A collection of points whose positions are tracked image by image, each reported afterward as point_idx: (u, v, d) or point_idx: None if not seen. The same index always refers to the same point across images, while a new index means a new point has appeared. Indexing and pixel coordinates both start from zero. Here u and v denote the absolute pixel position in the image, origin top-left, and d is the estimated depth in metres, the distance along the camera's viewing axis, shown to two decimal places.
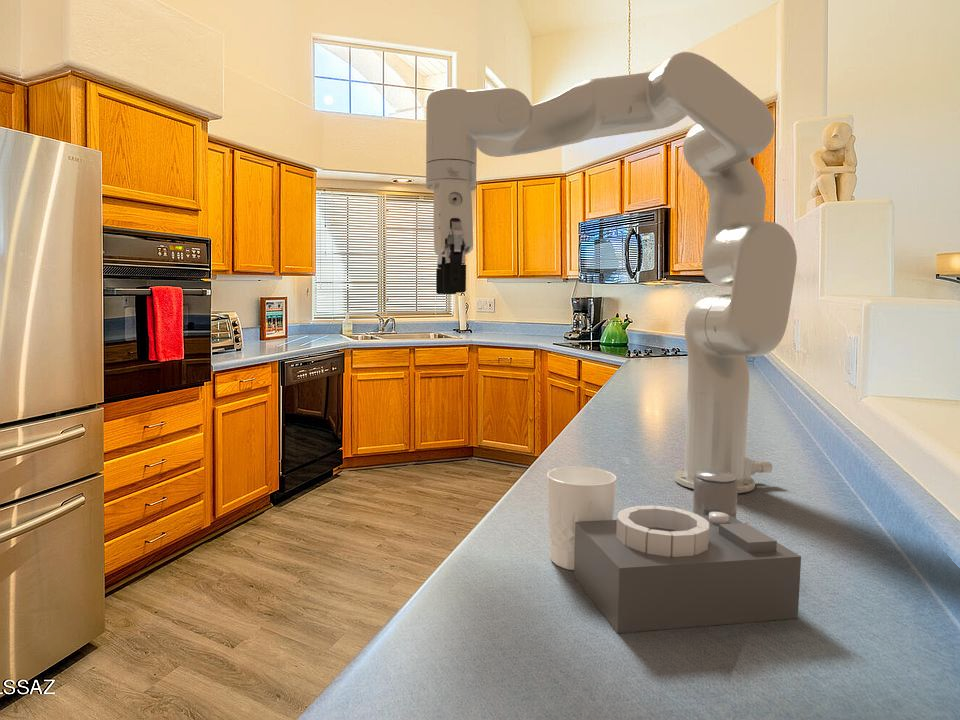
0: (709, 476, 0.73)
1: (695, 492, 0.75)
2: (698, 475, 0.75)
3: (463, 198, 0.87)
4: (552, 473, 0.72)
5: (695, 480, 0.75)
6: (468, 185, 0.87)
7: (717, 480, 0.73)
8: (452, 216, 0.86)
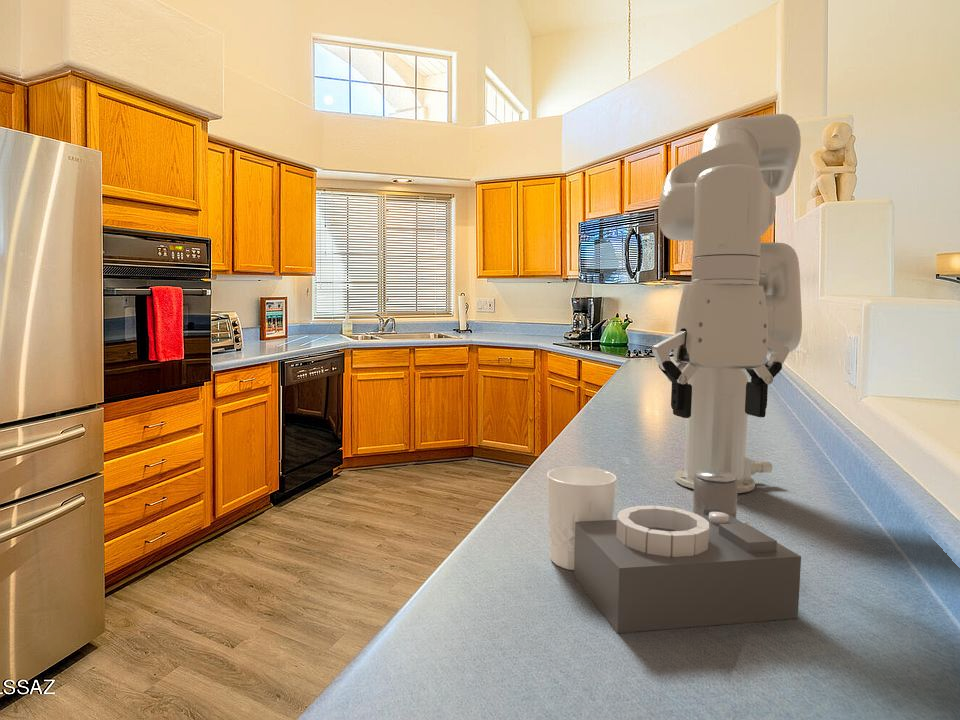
0: (709, 476, 0.73)
1: (695, 492, 0.75)
2: (698, 475, 0.75)
3: None
4: (552, 473, 0.72)
5: (695, 480, 0.75)
6: None
7: (717, 480, 0.73)
8: None
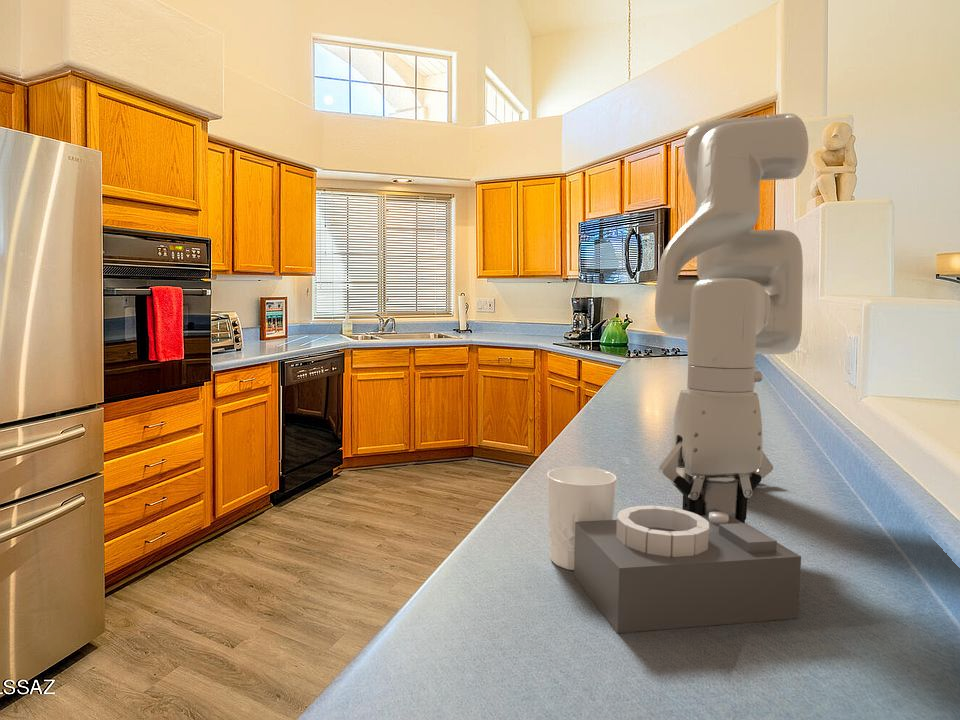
0: (709, 476, 0.73)
1: None
2: None
3: None
4: (552, 472, 0.72)
5: None
6: None
7: (717, 480, 0.73)
8: None
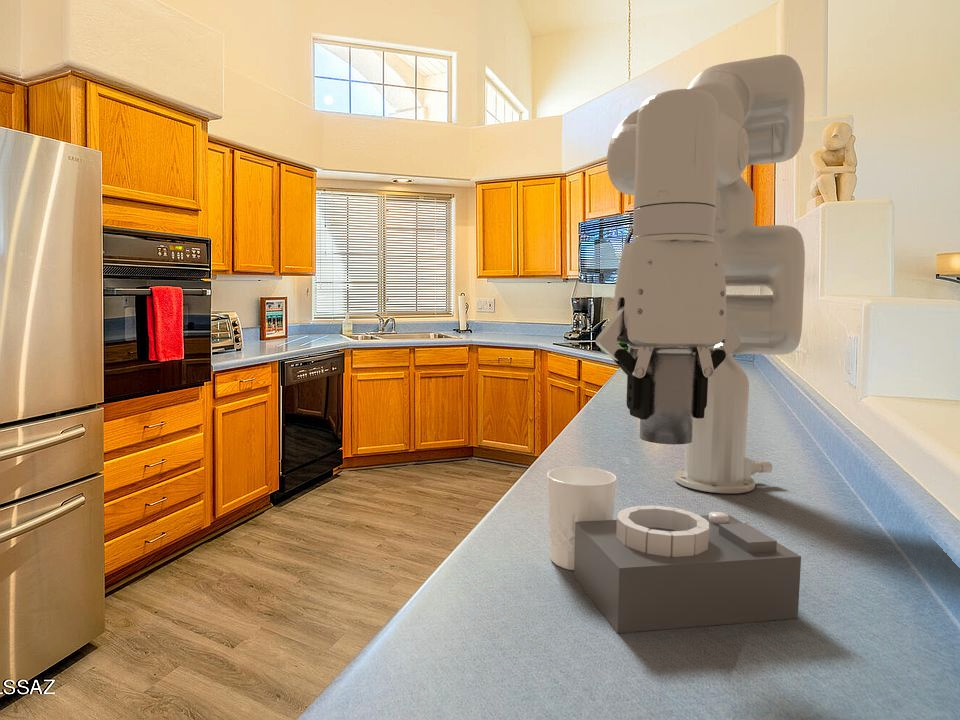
0: (659, 348, 0.58)
1: None
2: None
3: None
4: (552, 473, 0.72)
5: None
6: None
7: (669, 351, 0.57)
8: None
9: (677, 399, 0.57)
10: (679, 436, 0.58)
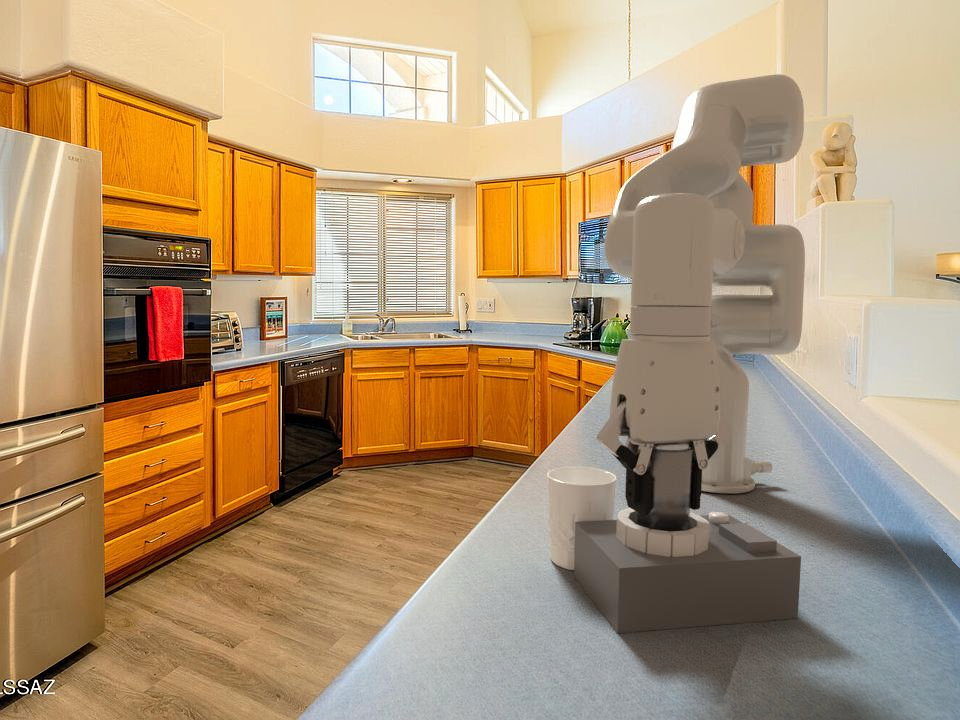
0: (658, 444, 0.59)
1: None
2: None
3: None
4: (552, 473, 0.72)
5: None
6: None
7: (669, 448, 0.58)
8: None
9: (677, 495, 0.58)
10: None
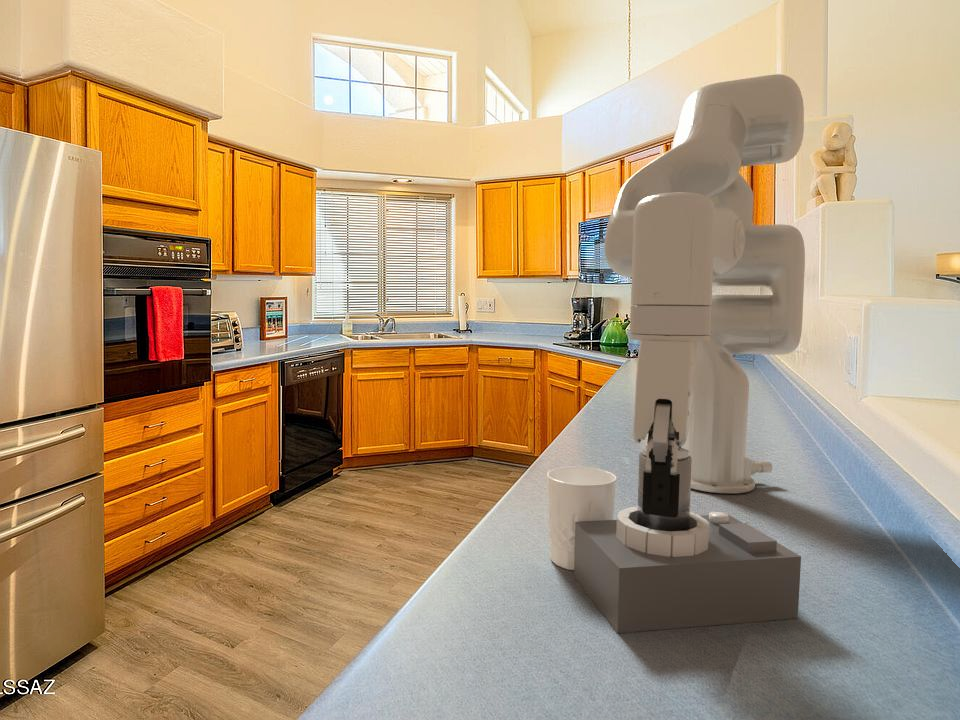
0: None
1: None
2: None
3: None
4: (552, 473, 0.72)
5: None
6: None
7: (685, 456, 0.59)
8: None
9: None
10: None
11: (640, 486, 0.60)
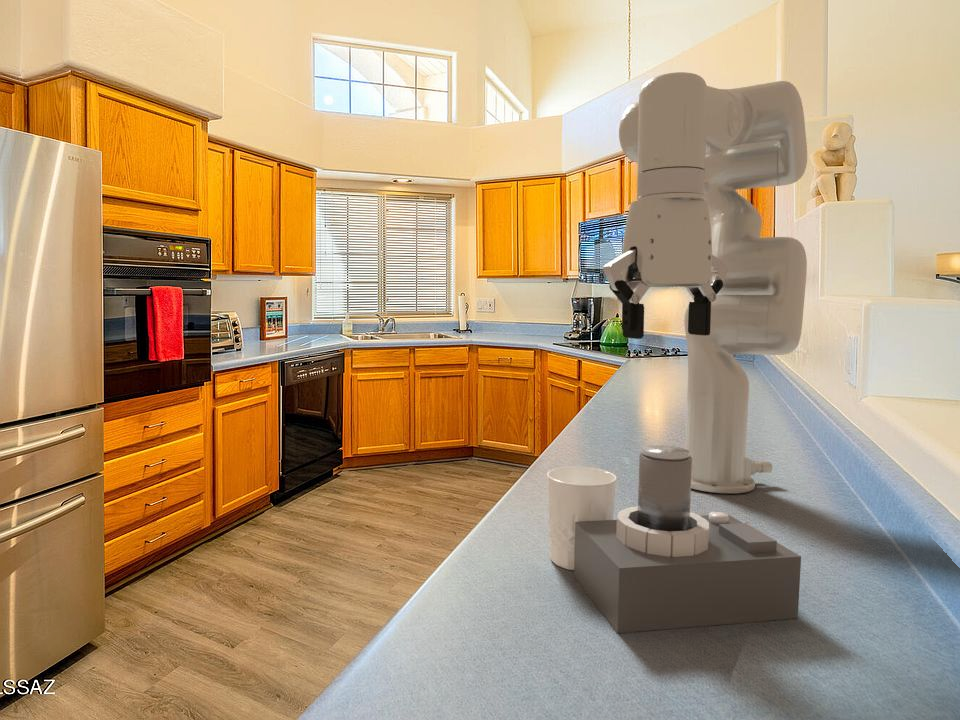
0: (675, 454, 0.59)
1: (659, 479, 0.58)
2: (661, 456, 0.59)
3: None
4: (552, 473, 0.72)
5: (658, 464, 0.58)
6: None
7: (686, 456, 0.59)
8: None
9: None
10: None
11: (640, 486, 0.60)
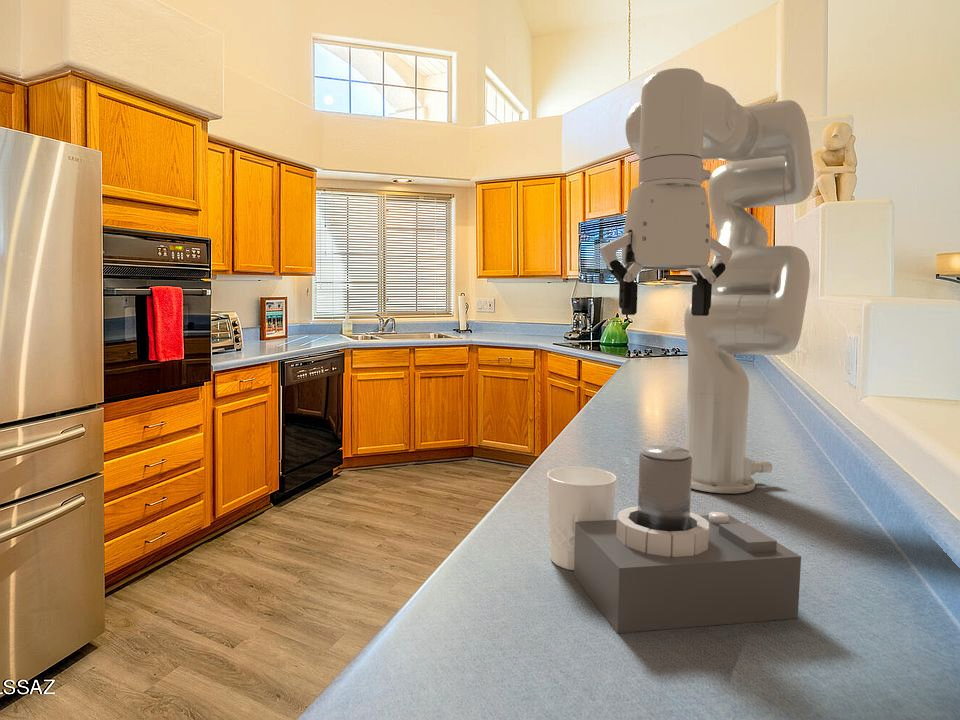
0: (675, 454, 0.59)
1: (659, 479, 0.58)
2: (661, 456, 0.59)
3: None
4: (552, 473, 0.72)
5: (658, 464, 0.58)
6: None
7: (686, 456, 0.59)
8: None
9: None
10: None
11: (640, 486, 0.60)
